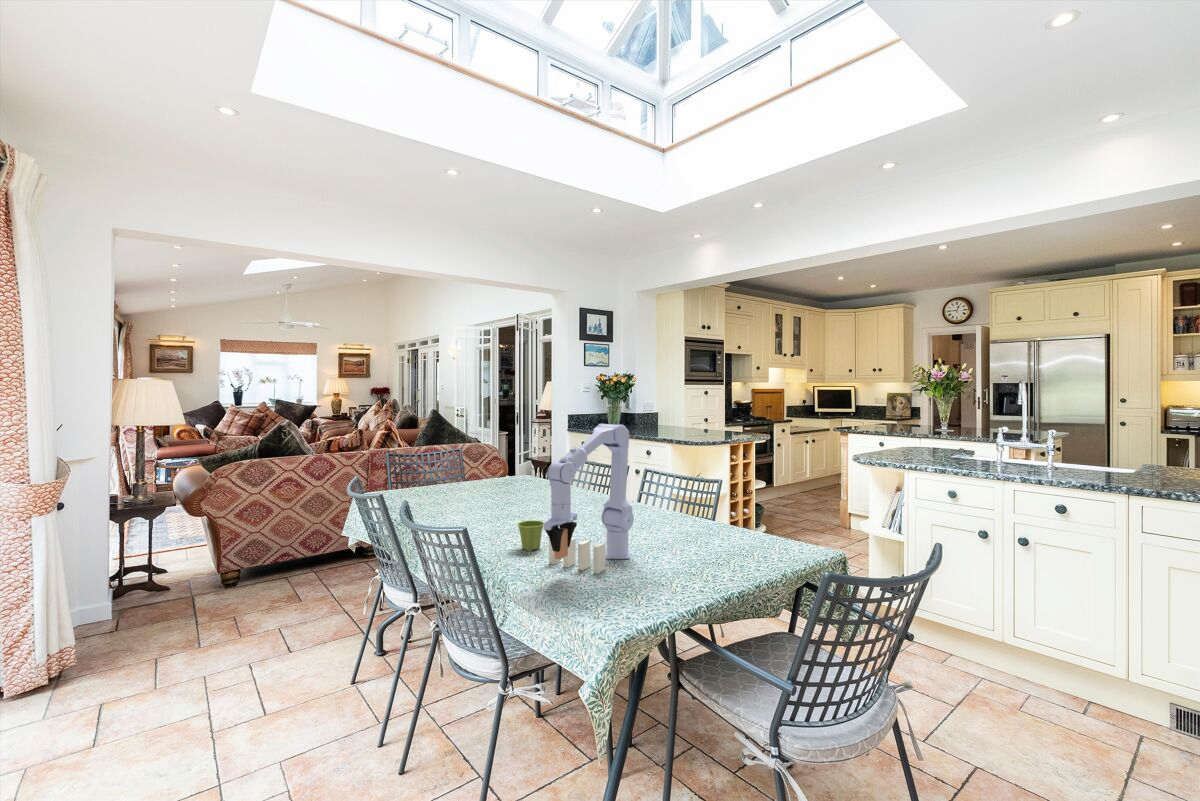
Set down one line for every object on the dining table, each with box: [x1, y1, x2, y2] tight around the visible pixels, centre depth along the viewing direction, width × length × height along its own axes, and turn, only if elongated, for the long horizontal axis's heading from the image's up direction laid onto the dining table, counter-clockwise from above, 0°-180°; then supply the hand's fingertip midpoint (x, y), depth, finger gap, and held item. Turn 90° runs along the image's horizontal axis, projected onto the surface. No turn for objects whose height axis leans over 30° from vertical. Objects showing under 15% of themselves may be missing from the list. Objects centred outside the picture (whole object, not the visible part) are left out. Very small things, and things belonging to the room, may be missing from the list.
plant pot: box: [517, 520, 545, 551], centre depth 187 cm, size 9×9×9 cm
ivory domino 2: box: [562, 537, 577, 568], centre depth 169 cm, size 2×4×8 cm, turn 149°
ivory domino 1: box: [548, 538, 562, 565], centre depth 172 cm, size 2×4×8 cm, turn 149°
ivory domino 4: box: [592, 542, 606, 574], centre depth 164 cm, size 2×4×8 cm, turn 149°
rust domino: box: [555, 528, 568, 560], centre depth 159 cm, size 2×4×8 cm, turn 149°
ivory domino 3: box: [577, 540, 591, 571], centre depth 167 cm, size 2×4×8 cm, turn 149°
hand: (561, 548), depth 159 cm, fingers closed on rust domino, 4 cm apart
